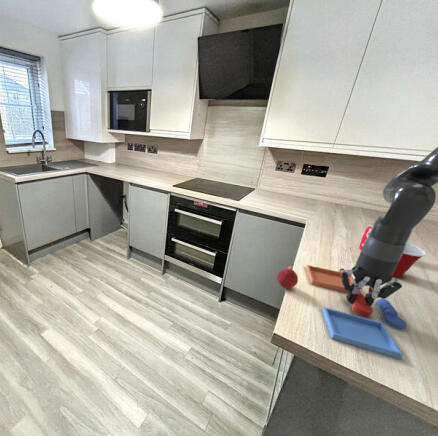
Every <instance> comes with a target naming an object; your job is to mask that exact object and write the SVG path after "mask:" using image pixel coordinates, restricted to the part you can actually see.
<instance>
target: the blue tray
mask: <svg viewBox="0 0 438 436" xmlns="http://www.w3.org/2000/svg"><path fill="white" fill-rule="evenodd" d="M322 315H323V318H324V320H325V323H326V327H327V329H328V333H329V335H330V338H331V339H332V340H334V341H338V342H341V343H345V344H348V345H351V346H355V347H358V348H361V349H365V350H368V351H371V352H374V353H378V354H382V355H385V356H388V357H391V358H395V359H398V360H401V358H402V357H403V355H404V354H403V352H402V351H401V349H400V348H399V346H398V345H397V343H396V341H395V339H394V338H393V336H392V335H391V333H390V332H389V330H388V329H387V327H386V325H385V323H384V322H383V321H379V320H376V319H375V320H374V319H371V318H368V317H363V316H360V315H355V314H352V313H348V312H345V311H344V312H343V311H342V310H341V311H340V310H337V309H332V308H329V307H325V306H323V308H322Z"/></svg>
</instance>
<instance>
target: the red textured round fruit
mask: <svg viewBox="0 0 438 436" xmlns="http://www.w3.org/2000/svg"><path fill="white" fill-rule="evenodd" d="M276 279H277V283H278V284H279V285H280V287H282V288H284V289H291V288H294V287H295V286H296V285H297V284H298V282H299V276H298V274H297V273H296V271H295V270H293V267H292V266H288V267H287V268H283V269H281V270H279V271H278V273H277V275H276Z"/></svg>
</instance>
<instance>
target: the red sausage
mask: <svg viewBox="0 0 438 436" xmlns="http://www.w3.org/2000/svg"><path fill="white" fill-rule="evenodd" d="M360 290H361V289H360ZM360 290H359V291H358V293H357V296H356V298H355V301H354V303H353V304H352V307H351V310H352V312H354V313H355V314H357V316H360V317H363V318H372V316H373V313H374V308H373V307H372V306H369V305H367V301H366V299H365V295H363V293H362V290H361V291H360Z"/></svg>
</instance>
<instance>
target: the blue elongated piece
mask: <svg viewBox="0 0 438 436" xmlns="http://www.w3.org/2000/svg"><path fill="white" fill-rule="evenodd" d="M376 305H377V307H378V309H379V310H380V312H381V313H382V315H383V319H382V320H383V321H382V322H383V323H384V324H386V325H387V326H389V327H391V328H393V329H396V330H400V331H401V330H402V331H404V330H405V328H406V327H407V326H408V325H407V322H406V321H405V320H404V319H403V318H401V317H399V313H398V311H397V310H396V308H394V306H393V305H392V303H391V302H390V300H387V299H386V298H385V299H382V298H379V299H378V300H377V301H376Z"/></svg>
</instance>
